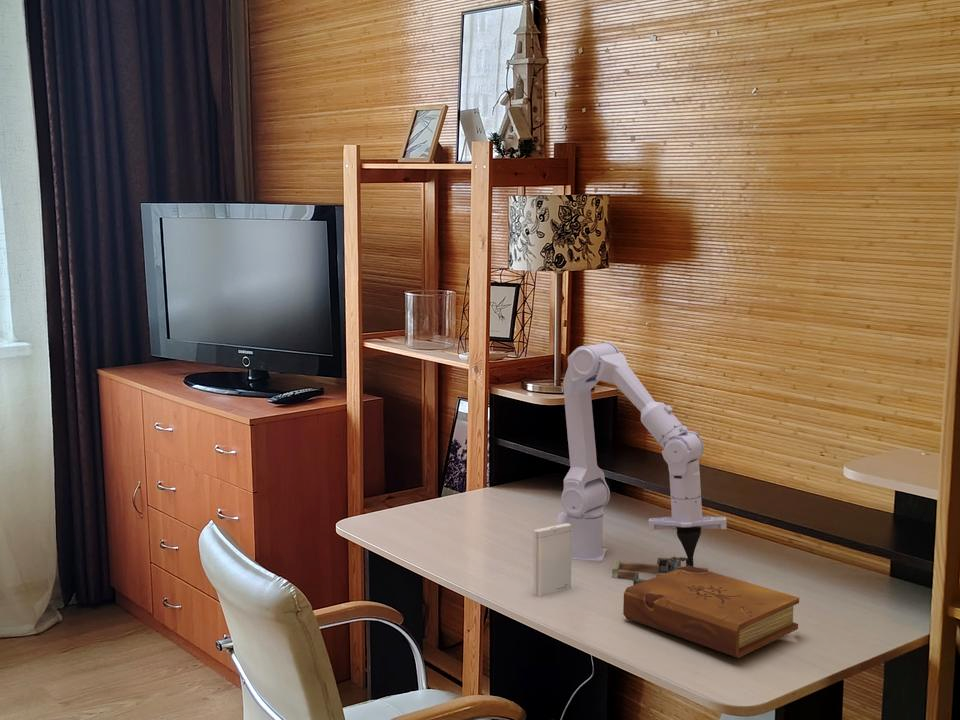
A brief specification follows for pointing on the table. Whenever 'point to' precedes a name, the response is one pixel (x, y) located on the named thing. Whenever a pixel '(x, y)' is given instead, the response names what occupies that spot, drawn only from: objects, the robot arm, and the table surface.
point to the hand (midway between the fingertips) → (689, 565)
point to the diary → (711, 610)
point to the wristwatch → (674, 563)
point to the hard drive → (552, 559)
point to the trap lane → (640, 569)
